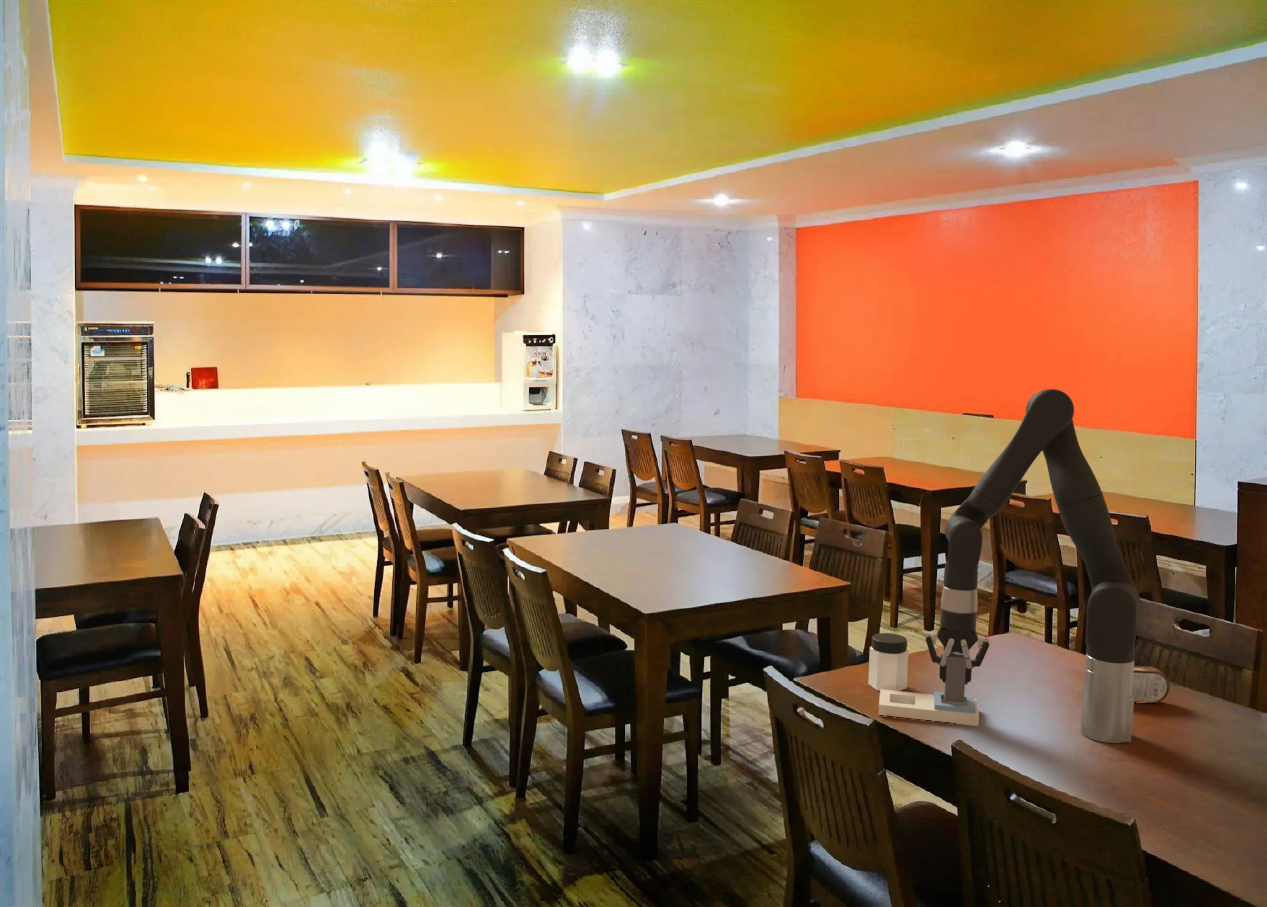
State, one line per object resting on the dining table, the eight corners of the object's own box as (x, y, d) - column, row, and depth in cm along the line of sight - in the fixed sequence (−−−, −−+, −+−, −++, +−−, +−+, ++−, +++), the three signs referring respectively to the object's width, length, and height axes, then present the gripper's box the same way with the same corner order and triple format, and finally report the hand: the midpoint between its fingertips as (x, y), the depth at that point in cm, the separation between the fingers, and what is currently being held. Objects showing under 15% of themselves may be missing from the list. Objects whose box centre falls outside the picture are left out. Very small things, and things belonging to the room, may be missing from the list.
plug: (962, 696, 228) (965, 652, 226) (963, 702, 224) (966, 658, 223) (944, 694, 229) (946, 651, 228) (944, 700, 225) (947, 656, 224)
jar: (912, 691, 241) (914, 642, 239) (880, 694, 239) (882, 644, 238) (894, 678, 250) (896, 631, 248) (863, 681, 248) (865, 633, 246)
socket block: (975, 709, 230) (976, 694, 230) (978, 726, 221) (979, 710, 220) (879, 699, 236) (880, 685, 235) (878, 715, 226) (879, 700, 226)
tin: (1164, 701, 237) (1167, 666, 236) (1170, 706, 234) (1173, 670, 233) (1097, 698, 238) (1099, 663, 237) (1101, 703, 235) (1104, 667, 234)
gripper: (992, 605, 225) (987, 680, 228) (925, 599, 229) (921, 673, 231) (994, 614, 218) (989, 691, 220) (925, 608, 222) (921, 684, 224)
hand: (954, 681), depth 226 cm, fingers closed on plug, 4 cm apart
